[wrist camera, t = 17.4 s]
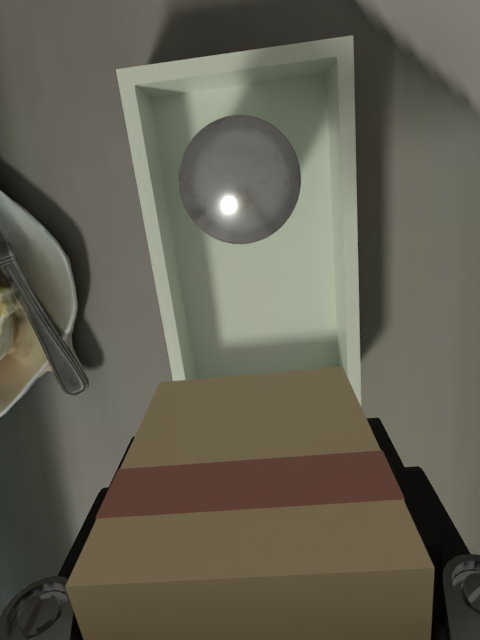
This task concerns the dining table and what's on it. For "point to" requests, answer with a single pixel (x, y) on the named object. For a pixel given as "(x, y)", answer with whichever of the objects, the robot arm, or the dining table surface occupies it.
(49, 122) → the dining table surface
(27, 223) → the salad plate
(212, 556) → the cardboard box
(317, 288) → the tote
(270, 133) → the steel can
